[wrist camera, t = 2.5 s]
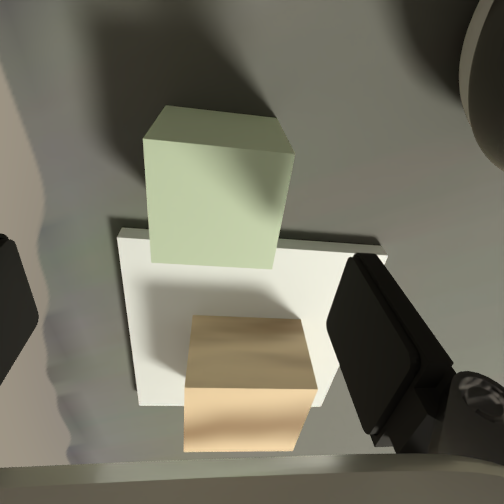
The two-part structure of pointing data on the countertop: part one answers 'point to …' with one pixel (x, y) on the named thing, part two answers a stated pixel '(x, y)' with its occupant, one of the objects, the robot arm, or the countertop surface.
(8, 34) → the countertop surface
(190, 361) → the oak block
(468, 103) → the pump dispenser
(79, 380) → the countertop surface
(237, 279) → the building board
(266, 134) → the sage cube
